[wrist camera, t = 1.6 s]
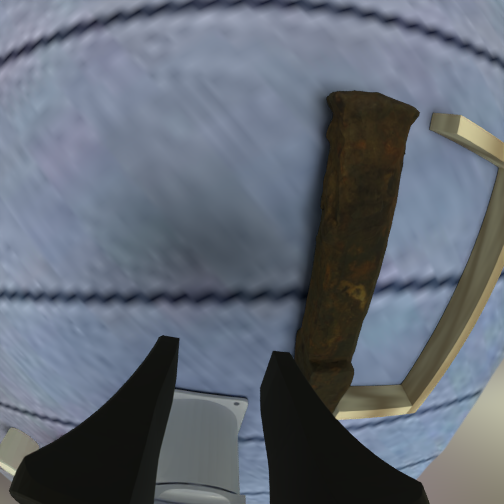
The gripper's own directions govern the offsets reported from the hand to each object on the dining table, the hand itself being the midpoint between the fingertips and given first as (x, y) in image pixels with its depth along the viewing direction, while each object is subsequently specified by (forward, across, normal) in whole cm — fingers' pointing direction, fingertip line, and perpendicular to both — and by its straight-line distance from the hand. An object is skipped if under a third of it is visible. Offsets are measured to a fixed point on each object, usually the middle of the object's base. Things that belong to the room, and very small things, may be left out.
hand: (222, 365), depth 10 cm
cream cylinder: (+10, +27, +37) cm, 47 cm away
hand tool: (+10, -8, 0) cm, 12 cm away
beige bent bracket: (+9, -15, 0) cm, 18 cm away
